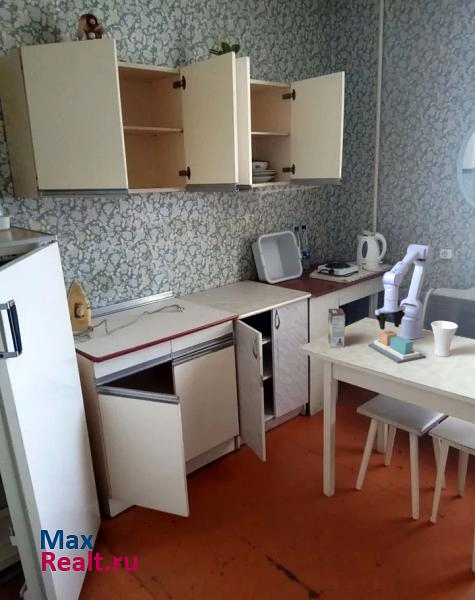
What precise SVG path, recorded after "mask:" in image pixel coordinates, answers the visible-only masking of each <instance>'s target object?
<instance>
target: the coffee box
mask: <svg viewBox="0 0 475 600" xmlns="http://www.w3.org/2000/svg"><path fill="white" fill-rule="evenodd" d="M327 321H328V325H327V326H328V327H327V333H328V334H327V341H328V343H329V346H330V348H344V347H345V331H346V327H345V326H346V313H345V312H344V310H343V308H328V320H327Z"/></svg>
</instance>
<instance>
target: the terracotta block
mask: <svg viewBox="0 0 475 600" xmlns="http://www.w3.org/2000/svg"><path fill="white" fill-rule="evenodd" d="M397 334H398V333H397V332H394V331H392V330H390V329H389V330H382V331H380V339H379V340H380V343H382V344H384V345H386V346H391V338H393V337H396V336H398V335H397Z"/></svg>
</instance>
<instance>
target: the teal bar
mask: <svg viewBox="0 0 475 600" xmlns="http://www.w3.org/2000/svg"><path fill="white" fill-rule="evenodd" d="M413 344H414V341H413V340H412V339H411V340H408V339H405V338H402V337H400V336H398V335H397V336H396V337H393V338H391V347H390V348H392V349H393V350H395V351H397V352H399V353H401V354H402V355H407V354H412V349H414V347H413V346H414V345H413Z"/></svg>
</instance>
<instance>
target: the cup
mask: <svg viewBox="0 0 475 600" xmlns="http://www.w3.org/2000/svg"><path fill="white" fill-rule="evenodd" d="M430 326H431V328H432V332H433V333H432V334H433V338H434V349H433V354H434V355H435V356H437V357H442V358H447V357H449V356H450V355H451V347H452V346H451V345H452V341H453V338H454V336H455V334H456V331H457V330H458V327H459V325H458V324H457V323H455V322H452V321H446V320H436V321H435V320H434V321H432V322H431V323H430Z"/></svg>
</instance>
